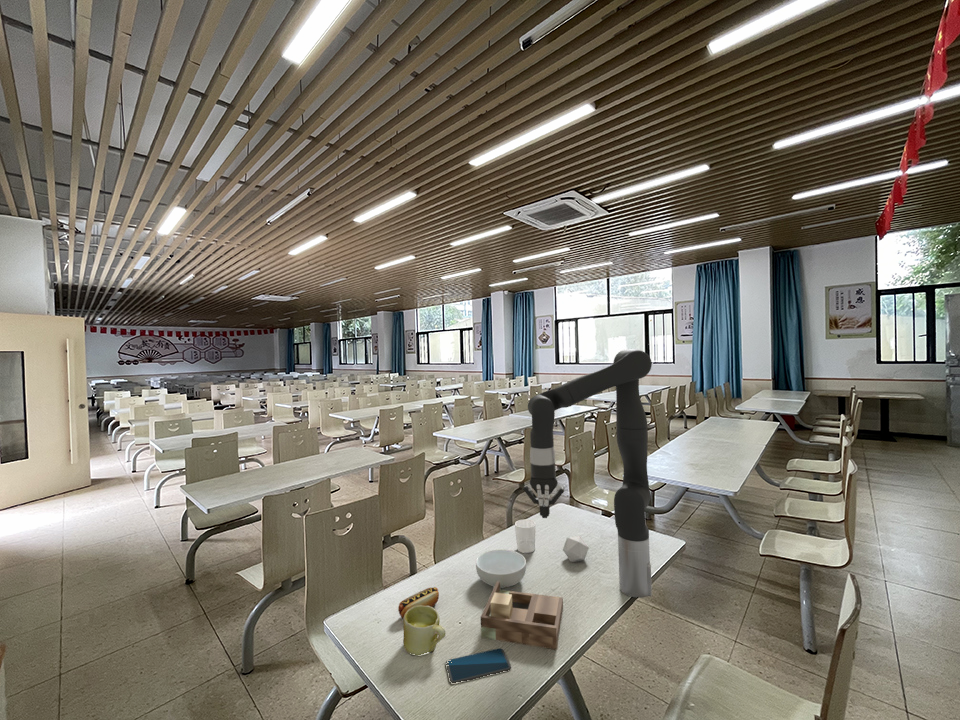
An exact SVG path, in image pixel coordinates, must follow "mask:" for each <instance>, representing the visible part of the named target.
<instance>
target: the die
mask: <svg viewBox="0 0 960 720" xmlns="http://www.w3.org/2000/svg"><path fill="white" fill-rule="evenodd" d="M562 547H563V548H562V551H563V553H564V554H565V556H566V557H567V559H569V561H570V563H574V562H582V561H585V560H586V557H587V554H588V553H589V549H590V547H589V545H588V544H587V543H586V541H585V540H584V539H583V538H582V536H581V535H575V536H570V537H569V536H568V537H566V540H565V542H564V546H562Z"/></svg>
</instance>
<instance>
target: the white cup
mask: <svg viewBox="0 0 960 720" xmlns="http://www.w3.org/2000/svg"><path fill="white" fill-rule="evenodd" d="M514 529H515V541H516V548H517V551H518V553H523V554H530V553H533V552H534V551H535V550H536V522H535V521H534V520H531V519H527V518H526V519H519V520H516V521H515V523H514Z"/></svg>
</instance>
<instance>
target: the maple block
mask: <svg viewBox="0 0 960 720" xmlns="http://www.w3.org/2000/svg"><path fill="white" fill-rule="evenodd" d="M490 605H491V616H492V617H499V618H506V619H511V616H512V613H513V606H512V594H504V593H494V595H493V598H492V600H491V602H490Z"/></svg>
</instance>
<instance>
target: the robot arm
mask: <svg viewBox="0 0 960 720" xmlns="http://www.w3.org/2000/svg"><path fill="white" fill-rule="evenodd" d="M652 363H653V361H652V359H651V357H650V355H649V354H648V353H646V352H645V351H643V350H640V349H623V350H620V351H619V352H618V353H617V354H616V355H615V356H614V359H613V363H612V364H611V365H608V366H607V367H604V368H601V369H599V370H597V371H594V372H589V373H588V374H584V375H581V376H579V377H576V378H573V379H572V380H569V381H567V382H564V383H562V384H561V385H560V386H558V387H555V388H552V389H548V390H546V391H543V392H540V393H538V394H535V395H533V397H531V398H530V399H529V401H528V402H527V410H528V412H529V414H530V415H531V427H532V428H531V430H530V434H529V435H530V437H529V439H530V450H529V452H530V453H529V461H530V480H529V483H527V484H525V485H524V486H523V491H524V493H525V494H526V495H527V497H528V498H529V499H530V500H531V502H532V503H533V504H535V505H538V507H539V516H540V517H541V518H542V519H547V518H548V517H549V516H550V514H551V513H550V512H551V511H550V506H551V505H553V506H554V505H555V503H556V502H557V501H558V500H559V498H560V497H561V496H562V495H563V494H564V491H565V487H564V486H562V485H560V484H559V482H558V480H557V475H556V472H557V471H556V453H555V443H554V427H555V426H554V425H555V417H556V416H555V415H556V414H555V411H557V410H559V409H563V408H566V409H567V408H569V407H572V406H574V405H577V404H578V403H580V402H583V401H585V400H586V399H590V398H591V397H593V396H595V395H597V394H599V393H602V392H604V391H607V390H609V389H611V388H614V387H615V393H616V394H615V395H616V398H615V399H616V402H615V406H616V407H615V409H616V412H615V413H616V423H615V424H616V425H615V426H616V427H615V429H616V434H615V435H616V443H617V448H618V451H619V454H620V457H621V460H622V464H623V466H622V467H623V477H622V485H621V486H620V487H619V488H618V489H617V490H616V492H615V494H614V498H613V507H614V508H613V512H614V522H615V527H616V529H617V545H618V547H617V548H618V550H617V553H618V575H619V576H618V579H619V581H618V582H619V583H618V584H619V590H620V591H621V592H622V593H623V594H624V595H626V596H628V597H631V598H635V599H636V598H637V597H638V596H639V597H638V598H637V599H641V598H646V597H647V598H648V597H653V593H652V592H653V589H652V566H651V565H652V564H651V555H650V553H651V552H650V530H649V527H648V526H647V525H646V524H647V523H646V509H647V508H648V507H649V505H650V502H651V491H650V484H649V477H648V475H649V474H648V447H649V446H648V440H649V439H648V436H649V434H648V433H649V432H648V427H649V426H648V419H647V415H646V412H645V409H644V406H643V403H642V399H641V395H640V379H644V378H645V377H646V376H647V375H648V374H650V372H651V370H652V366H653V365H652ZM533 490H534V492H533ZM554 490H555V492H556V493H555V494H554V495H553V497H552V498H550V496H551V494H552V493H553V491H554ZM536 494H537V495H536Z"/></svg>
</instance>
